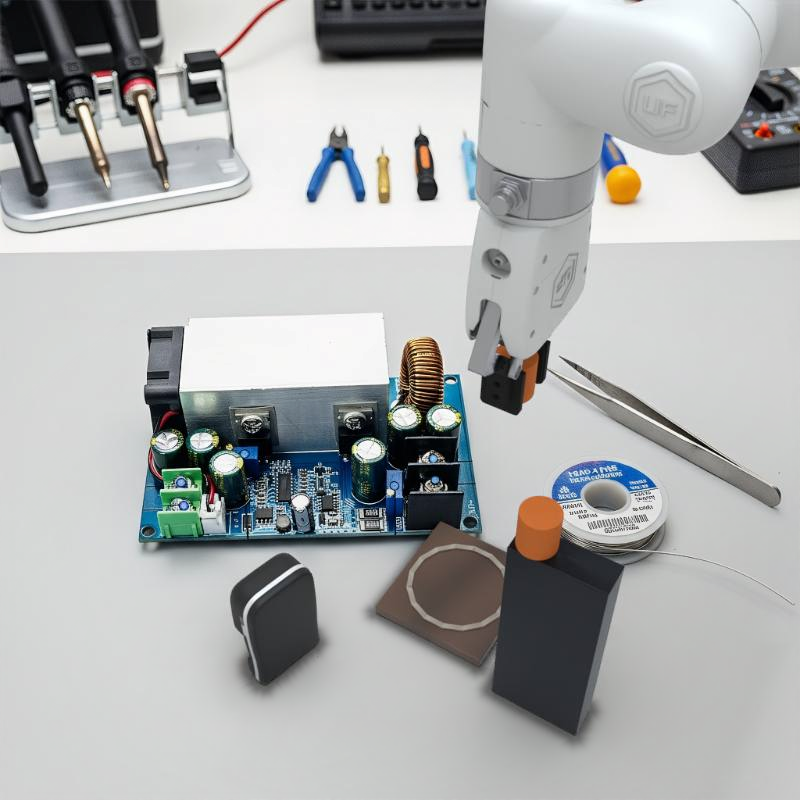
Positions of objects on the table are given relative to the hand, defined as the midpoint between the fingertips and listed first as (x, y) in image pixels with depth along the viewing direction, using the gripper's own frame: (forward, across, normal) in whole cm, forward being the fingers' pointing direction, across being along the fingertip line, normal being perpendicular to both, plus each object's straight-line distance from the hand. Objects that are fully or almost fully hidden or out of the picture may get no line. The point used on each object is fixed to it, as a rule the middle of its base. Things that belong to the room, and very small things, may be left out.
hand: (513, 389), depth 74 cm
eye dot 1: (0, 0, 0) cm, 0 cm away
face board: (+27, 0, +3) cm, 27 cm away
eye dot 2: (+7, -7, -6) cm, 12 cm away
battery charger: (+28, -14, +14) cm, 34 cm away
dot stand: (+27, -7, -8) cm, 29 cm away
